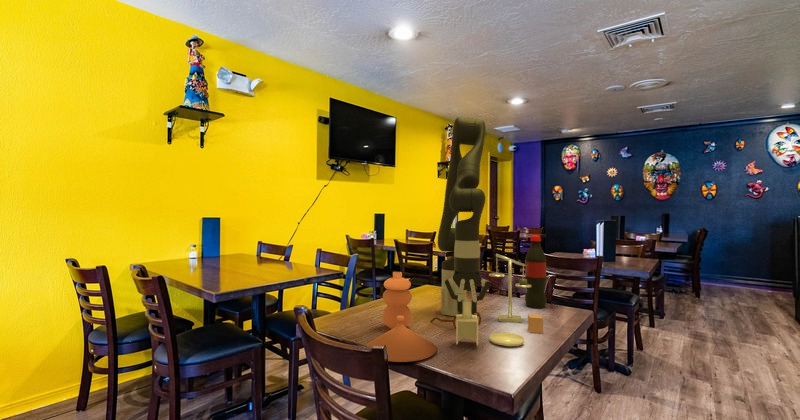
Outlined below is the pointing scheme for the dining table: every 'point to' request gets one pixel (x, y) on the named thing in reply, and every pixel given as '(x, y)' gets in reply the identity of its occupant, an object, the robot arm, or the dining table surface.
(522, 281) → the balance
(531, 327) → the block
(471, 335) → the hood
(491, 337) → the dish
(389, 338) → the ceramic vessels
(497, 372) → the dining table surface
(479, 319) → the glasses
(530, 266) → the cola bottle
